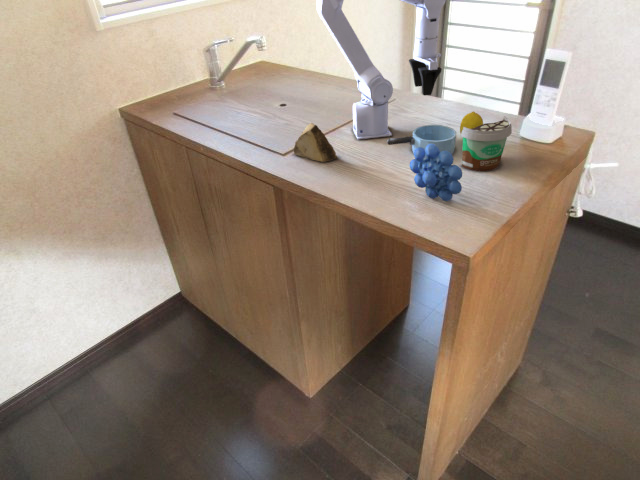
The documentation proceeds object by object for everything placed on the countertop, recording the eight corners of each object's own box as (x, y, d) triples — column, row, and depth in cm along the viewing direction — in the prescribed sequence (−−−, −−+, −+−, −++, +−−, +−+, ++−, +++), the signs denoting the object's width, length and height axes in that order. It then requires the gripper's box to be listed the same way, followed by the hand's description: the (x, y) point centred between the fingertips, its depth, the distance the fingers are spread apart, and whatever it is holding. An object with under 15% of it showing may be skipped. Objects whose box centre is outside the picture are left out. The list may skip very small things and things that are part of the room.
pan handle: (413, 141, 112) (414, 134, 111) (415, 144, 111) (416, 137, 110) (386, 144, 112) (386, 137, 111) (387, 147, 110) (387, 140, 109)
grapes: (398, 199, 95) (400, 147, 88) (413, 186, 99) (417, 135, 92) (449, 215, 89) (456, 160, 81) (464, 200, 93) (471, 146, 86)
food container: (473, 178, 100) (480, 136, 94) (456, 168, 104) (461, 127, 98) (517, 165, 103) (525, 124, 97) (498, 155, 108) (505, 115, 102)
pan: (418, 160, 109) (420, 143, 106) (407, 143, 117) (408, 127, 114) (460, 156, 109) (462, 138, 106) (446, 139, 118) (447, 122, 115)
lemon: (481, 146, 112) (486, 115, 108) (458, 146, 114) (462, 115, 109) (479, 137, 117) (484, 107, 112) (457, 137, 118) (461, 107, 113)
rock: (281, 148, 114) (298, 156, 106) (294, 116, 113) (313, 122, 105) (314, 163, 121) (332, 172, 113) (327, 133, 119) (347, 140, 111)
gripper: (451, 41, 108) (446, 97, 116) (432, 29, 120) (429, 81, 128) (423, 44, 108) (419, 100, 116) (407, 32, 119) (404, 83, 127)
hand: (422, 90), depth 122 cm, fingers open, 7 cm apart
